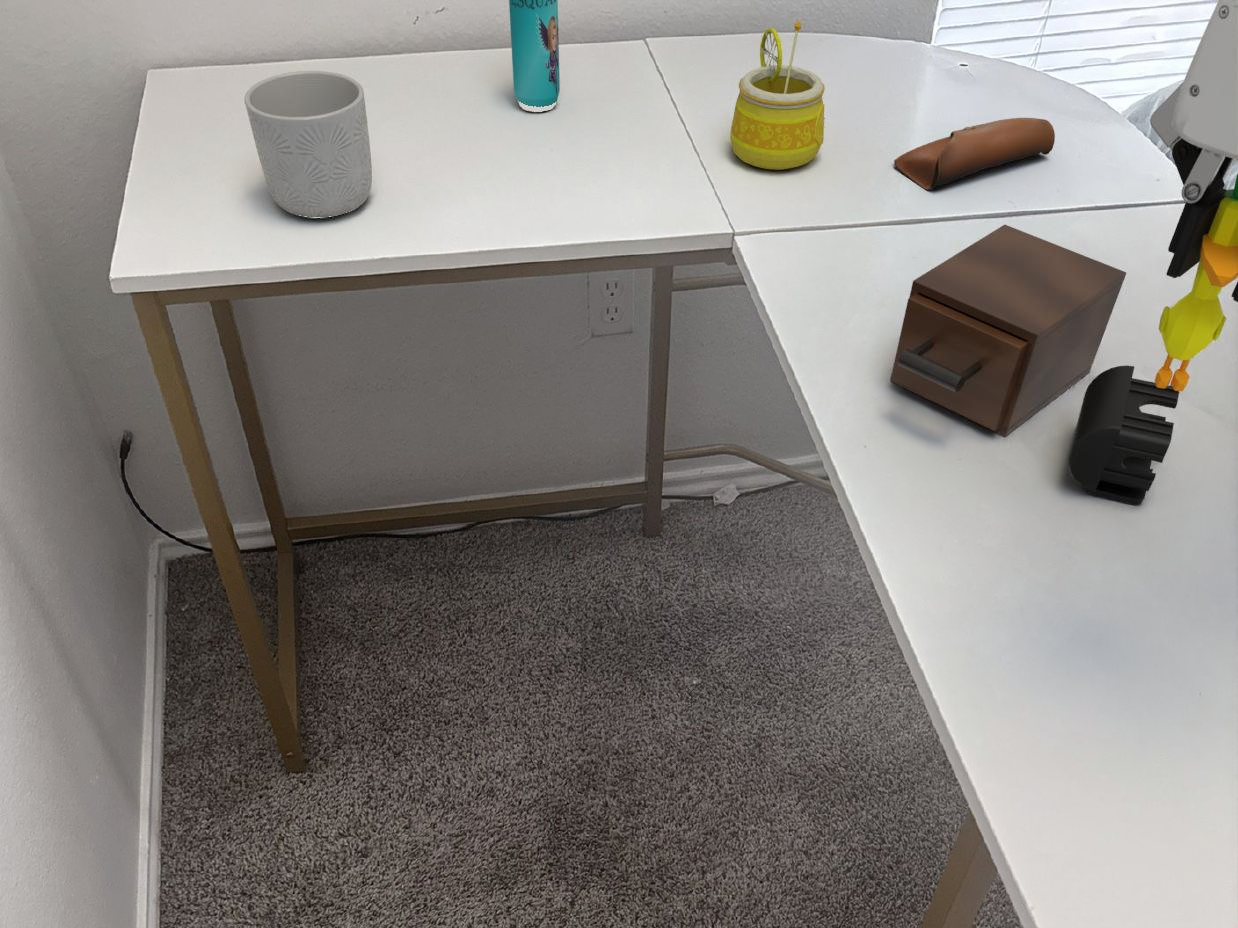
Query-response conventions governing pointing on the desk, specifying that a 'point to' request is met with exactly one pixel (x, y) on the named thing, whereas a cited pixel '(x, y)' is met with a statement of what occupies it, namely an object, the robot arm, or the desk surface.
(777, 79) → the yellow patterned pot
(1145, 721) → the desk surface
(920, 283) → the cabinet
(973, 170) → the sunglasses case
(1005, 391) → the drawer
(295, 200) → the planter
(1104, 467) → the end cap
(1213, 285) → the toy figure
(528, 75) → the beverage can
